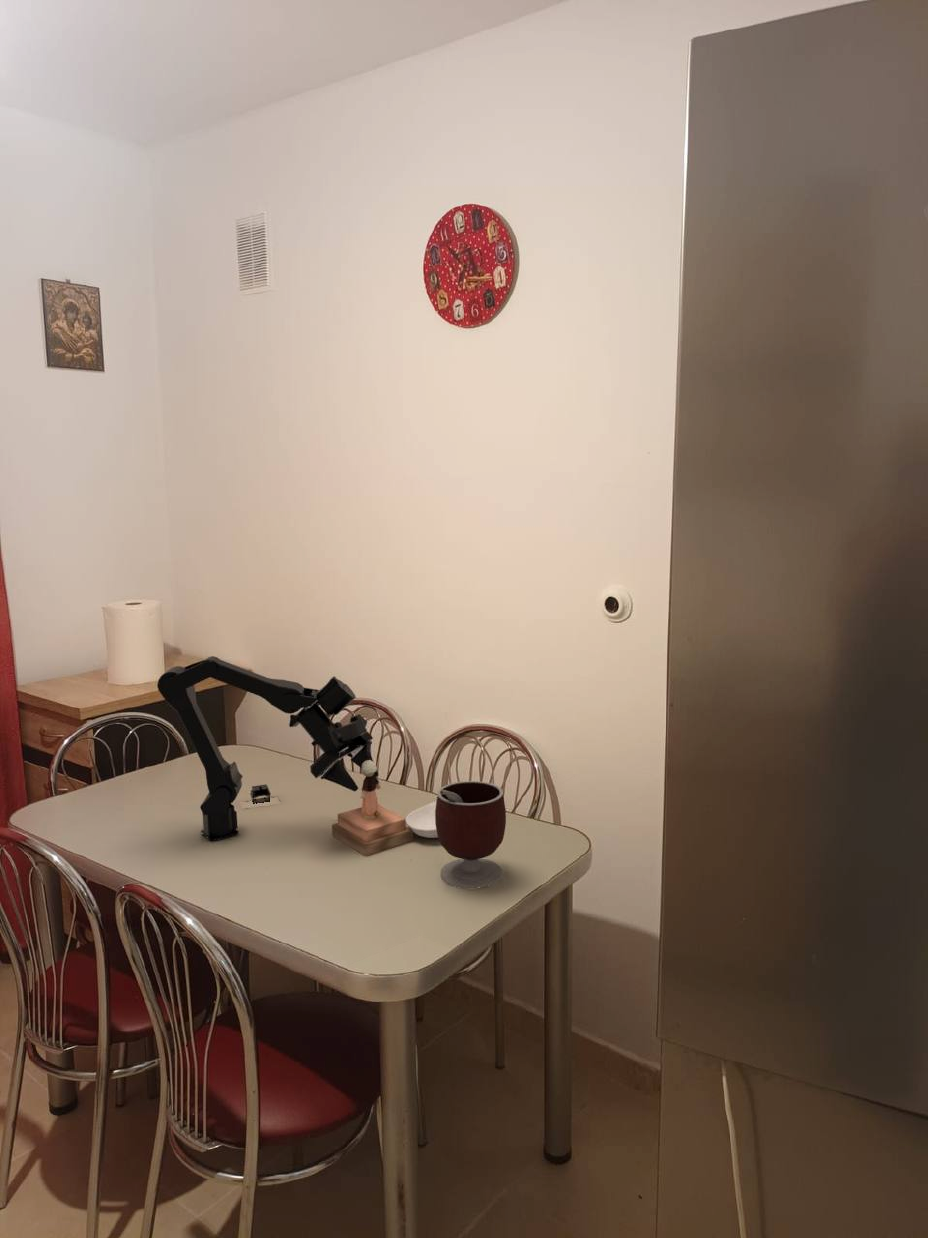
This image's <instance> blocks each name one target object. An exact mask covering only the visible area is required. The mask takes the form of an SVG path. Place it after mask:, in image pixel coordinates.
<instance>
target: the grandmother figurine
mask: <svg viewBox="0 0 928 1238" xmlns="http://www.w3.org/2000/svg"><path fill="white" fill-rule="evenodd" d="M361 770H362V774H363V776H365V778H364V780H363V782H362V786H361V795H360V798H361V799H362V803H361V804H362V805H361V807H362V813H365V814H364V816H363V818H364V819H375V818H376V817H375V816H376V815H379V814H380V813H379V812H378V811H377V810H378V804H379V801H378V796H377V793H376V790H381V784H380V781H379V779H378V778H377V777H376V776H375V775H373V774H374V772H376V770H377V771H378V767H377V765H376V763H375V762H374V760H373V761H371V760H367V761H364V762H363V763H362V768H361Z"/></svg>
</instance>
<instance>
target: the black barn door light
mask: <svg viewBox="0 0 928 1238" xmlns="http://www.w3.org/2000/svg"><path fill="white" fill-rule="evenodd" d="M249 795H250V798H251V799H250V800H252V802H253V804H255V803H256V804H257V803H264V802H270V797H271V795H272V794H271V792H270V788H269V787H268V785H267V784H258V785H252V786H251V789H250V793H249ZM259 797H260V798H259Z"/></svg>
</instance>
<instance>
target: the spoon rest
mask: <svg viewBox="0 0 928 1238" xmlns="http://www.w3.org/2000/svg"><path fill="white" fill-rule="evenodd" d="M436 801H437V800H435V801H432V802H430V803H428V804H426V805H424V806H420V807H418V808H417V809H414V810H413V811H411V812H410V813H409V814H407V816H406V817H405V819H406V827H408V828H410V829H411V830H412V833H414V834H416V835H417V836H419V837H422V838H425V839H438V835H437V830H436V824H435V809H436Z"/></svg>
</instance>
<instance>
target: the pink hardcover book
mask: <svg viewBox="0 0 928 1238" xmlns="http://www.w3.org/2000/svg"><path fill="white" fill-rule="evenodd" d="M377 811H378V812H379V813H380V814H379V815H376V816H375V817H376V818H375V819H364V818H363V816H364V814H365V813H362V806H361V807H358V808H354V809H351V810H348V811H344V812H340V813H337V822H336V823H333V824H331V834H332V837H334V838H336V839H337V840H339V841H341V842H343V844H346V845H347V846H348V847H350V848H352V849H353V850H355V851H357V852H358V853H359V854H361V855H363V856H364V857H367V856H370V855H373V854H374V855H375V854H376V853H379V852H382V851H386V850H388V849H389V850H390V849H392V848H395V847H398V846H400V845H405V844H407V843H411V842H413V841H414V840H413V831H412V830H411V829H410V828H409V827H408V826H407V825H406V817H404V816H401V815H399V814H398V813H396V812H393V811H392V810H389V809H388V808H386V807H384V806H382V805H380V804H379V803H378V810H377Z"/></svg>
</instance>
